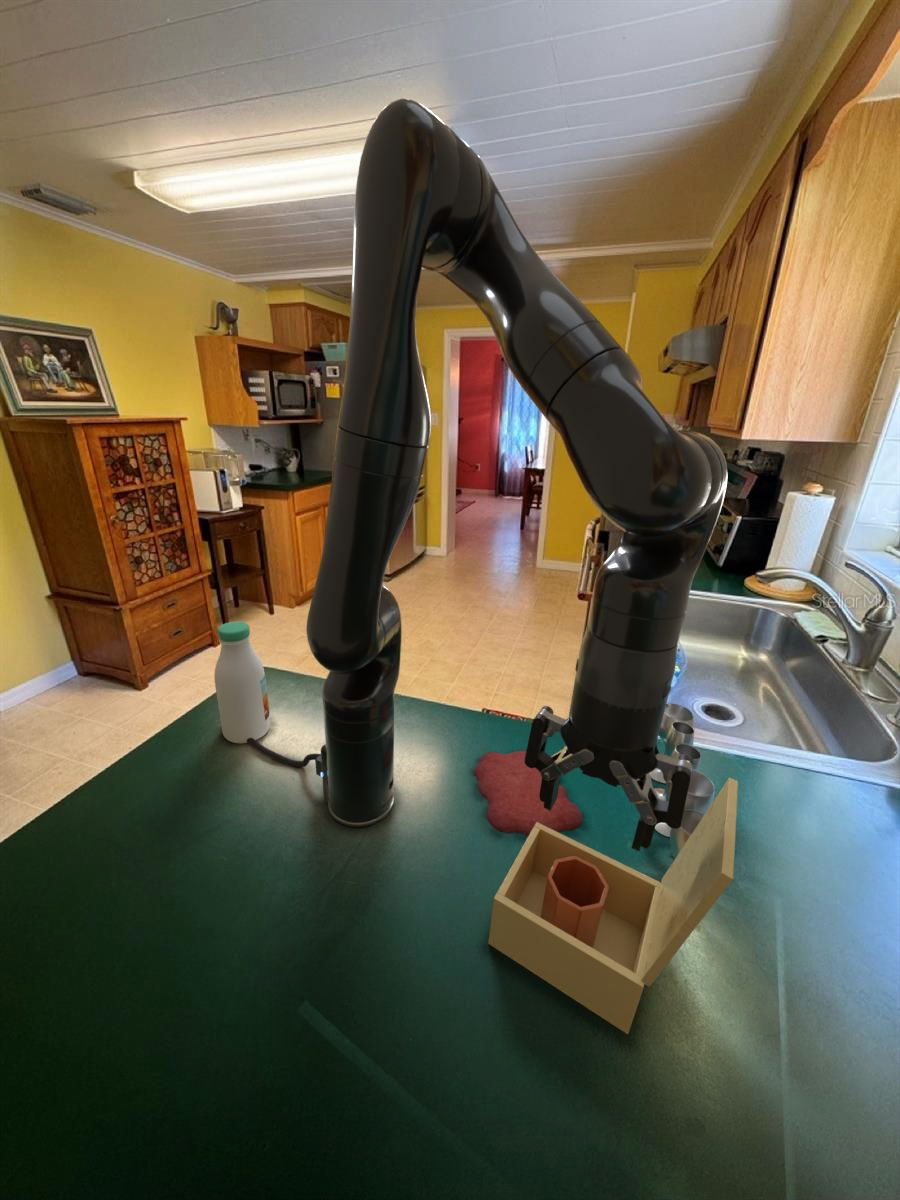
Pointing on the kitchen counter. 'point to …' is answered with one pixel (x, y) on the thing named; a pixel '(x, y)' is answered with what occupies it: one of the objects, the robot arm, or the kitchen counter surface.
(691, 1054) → the kitchen counter surface
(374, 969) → the kitchen counter surface
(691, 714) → the goblet set
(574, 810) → the red lobed pad
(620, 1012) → the wooden box base
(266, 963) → the kitchen counter surface
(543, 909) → the cup
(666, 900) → the wooden box lid
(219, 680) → the milk bottle
